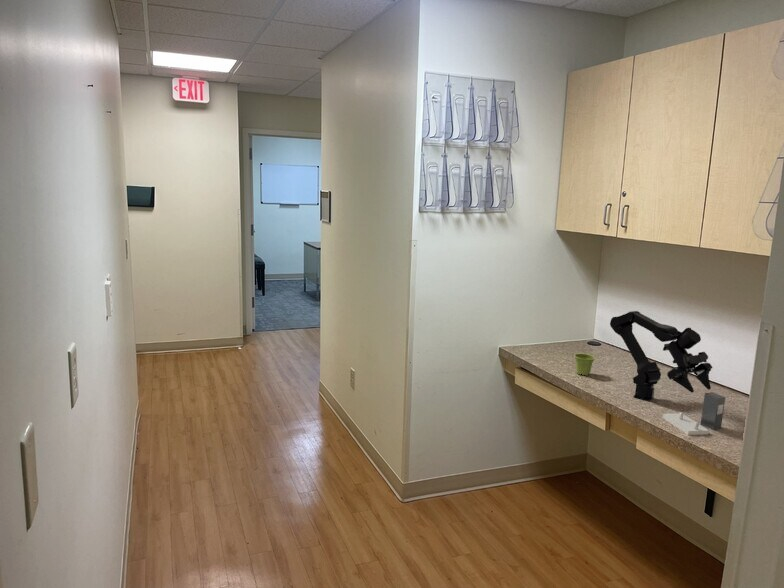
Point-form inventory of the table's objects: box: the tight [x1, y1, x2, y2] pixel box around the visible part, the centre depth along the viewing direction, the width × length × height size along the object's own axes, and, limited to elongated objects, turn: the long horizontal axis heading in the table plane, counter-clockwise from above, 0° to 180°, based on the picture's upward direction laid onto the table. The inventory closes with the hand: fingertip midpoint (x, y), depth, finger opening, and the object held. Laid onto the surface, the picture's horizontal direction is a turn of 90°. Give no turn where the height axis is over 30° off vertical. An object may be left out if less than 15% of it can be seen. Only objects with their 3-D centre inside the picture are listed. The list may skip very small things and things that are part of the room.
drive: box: [700, 391, 726, 431], centre depth 216 cm, size 6×4×12 cm
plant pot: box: [573, 353, 596, 376], centre depth 275 cm, size 9×9×9 cm
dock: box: [662, 411, 710, 436], centre depth 217 cm, size 16×8×4 cm, turn 7°
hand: (701, 390), depth 220 cm, fingers open, 9 cm apart
